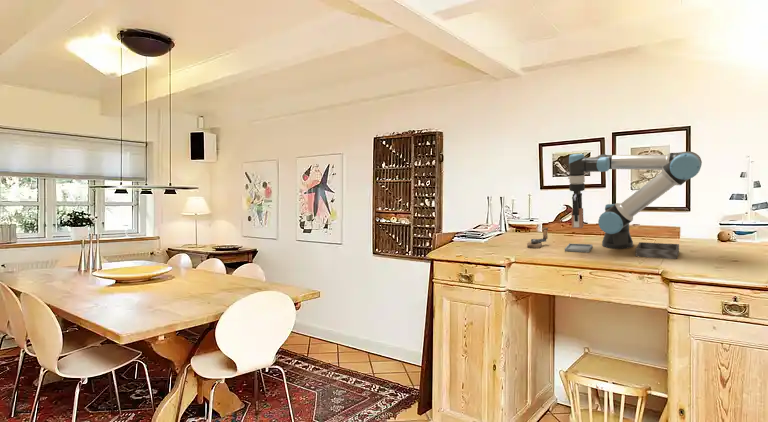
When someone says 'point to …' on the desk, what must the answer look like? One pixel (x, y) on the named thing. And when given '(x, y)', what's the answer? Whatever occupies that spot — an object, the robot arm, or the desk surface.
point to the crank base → (534, 245)
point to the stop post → (579, 218)
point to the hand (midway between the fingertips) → (577, 225)
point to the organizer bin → (657, 250)
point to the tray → (578, 247)
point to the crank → (543, 237)
